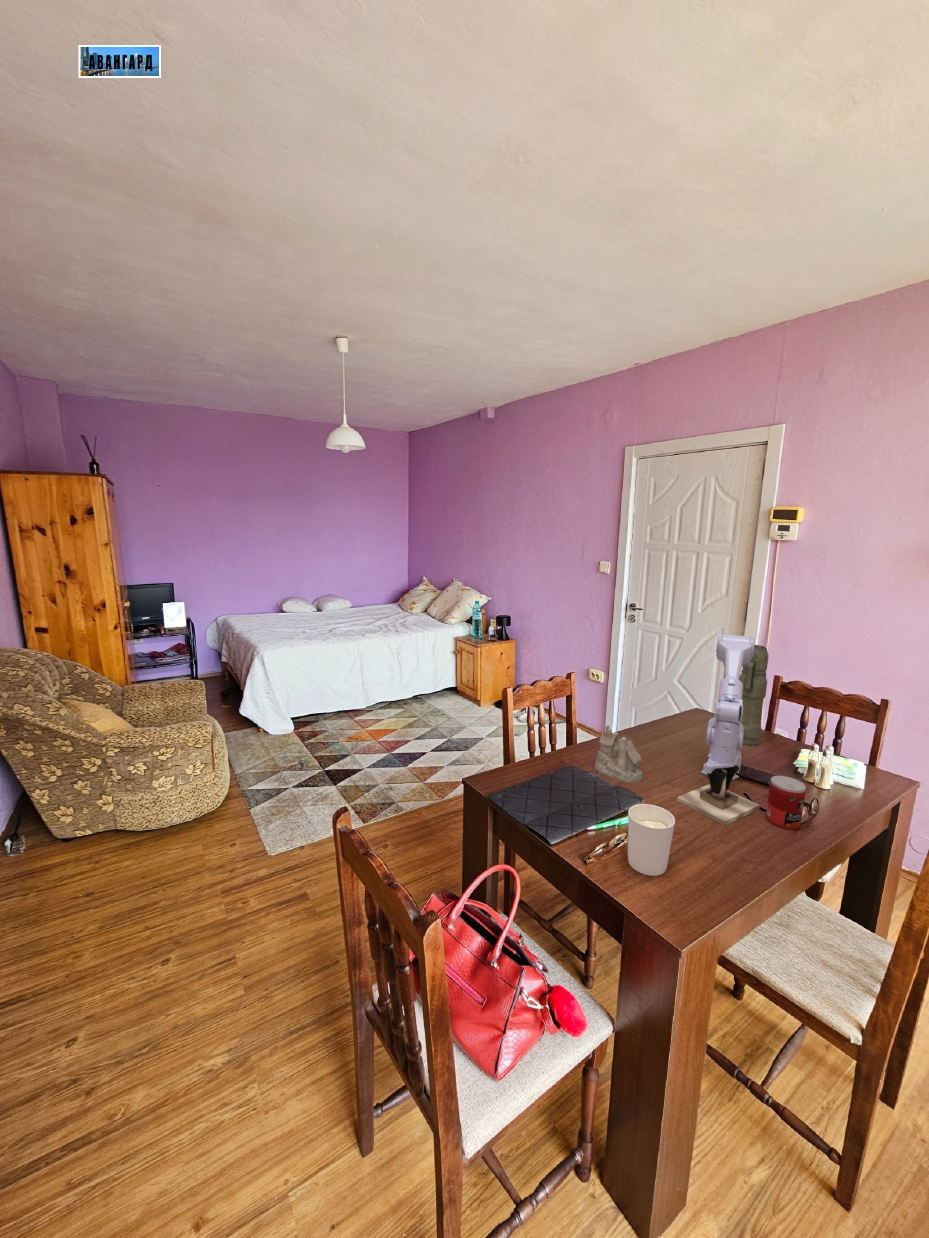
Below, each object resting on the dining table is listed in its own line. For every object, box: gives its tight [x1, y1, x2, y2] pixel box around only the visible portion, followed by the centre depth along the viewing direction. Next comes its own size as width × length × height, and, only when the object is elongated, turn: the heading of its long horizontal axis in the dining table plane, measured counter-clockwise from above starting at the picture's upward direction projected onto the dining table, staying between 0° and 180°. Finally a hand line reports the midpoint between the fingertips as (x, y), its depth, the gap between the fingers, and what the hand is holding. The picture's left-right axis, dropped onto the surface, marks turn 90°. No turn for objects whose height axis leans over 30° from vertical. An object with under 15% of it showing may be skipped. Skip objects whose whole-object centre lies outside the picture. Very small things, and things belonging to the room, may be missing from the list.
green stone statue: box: [738, 644, 770, 747], centre depth 183 cm, size 9×12×35 cm
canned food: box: [765, 775, 807, 831], centre depth 134 cm, size 8×8×11 cm
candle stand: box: [676, 783, 760, 827], centre depth 142 cm, size 16×14×3 cm
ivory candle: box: [712, 768, 727, 800], centre depth 141 cm, size 3×3×8 cm
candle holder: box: [627, 803, 676, 877], centre depth 116 cm, size 10×10×12 cm
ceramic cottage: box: [594, 724, 643, 784], centre depth 162 cm, size 16×16×15 cm
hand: (719, 790), depth 142 cm, fingers closed on ivory candle, 3 cm apart
